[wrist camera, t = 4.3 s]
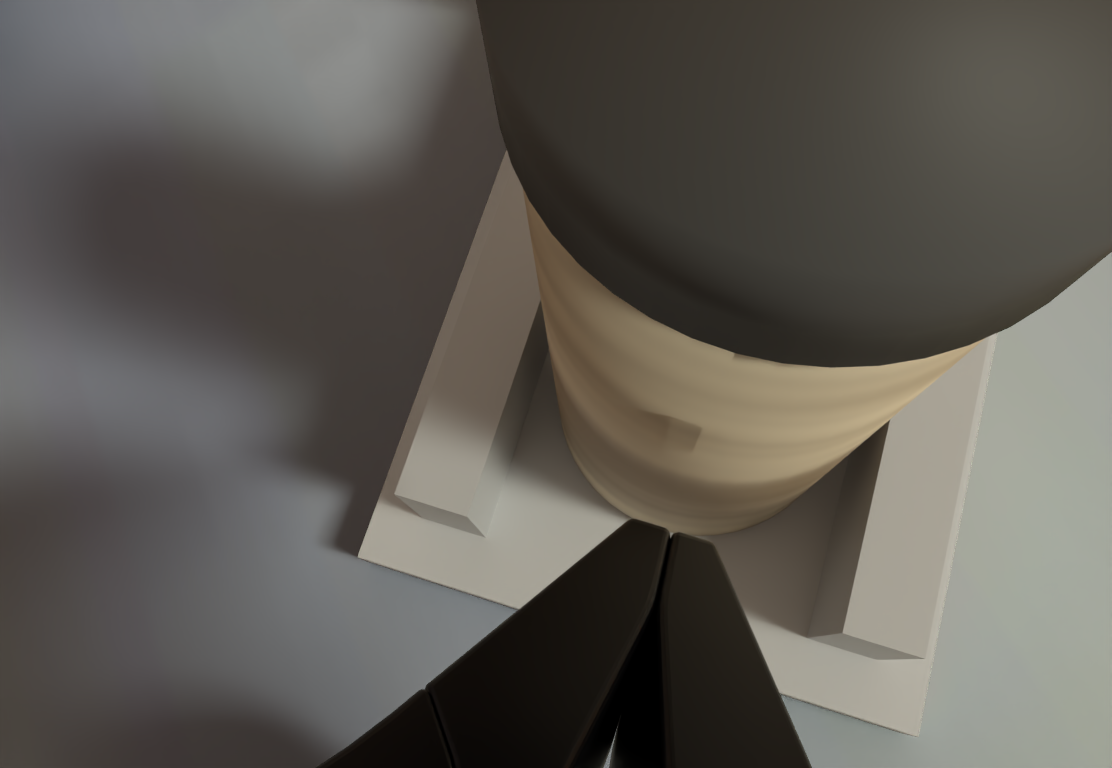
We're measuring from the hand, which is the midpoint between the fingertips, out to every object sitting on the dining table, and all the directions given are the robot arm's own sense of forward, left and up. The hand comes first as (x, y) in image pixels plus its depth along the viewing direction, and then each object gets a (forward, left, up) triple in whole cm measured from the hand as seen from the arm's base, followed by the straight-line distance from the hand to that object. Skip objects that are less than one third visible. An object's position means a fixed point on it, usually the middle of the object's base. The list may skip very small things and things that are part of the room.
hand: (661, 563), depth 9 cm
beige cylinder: (+2, +3, -7) cm, 8 cm away
